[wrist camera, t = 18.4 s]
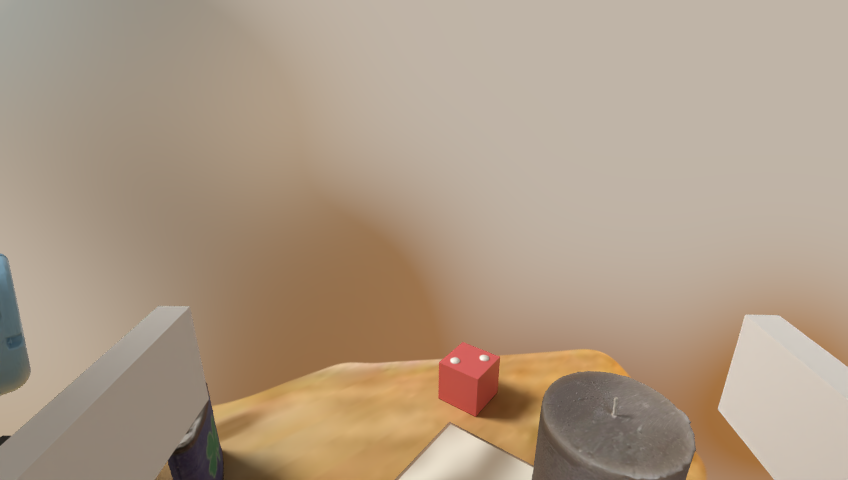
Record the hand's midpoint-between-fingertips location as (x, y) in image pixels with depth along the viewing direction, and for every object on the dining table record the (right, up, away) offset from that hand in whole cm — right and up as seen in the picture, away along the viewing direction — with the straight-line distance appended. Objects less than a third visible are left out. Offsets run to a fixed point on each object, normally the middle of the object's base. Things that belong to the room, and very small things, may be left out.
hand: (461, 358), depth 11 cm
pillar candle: (+12, -22, +25) cm, 35 cm away
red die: (+4, -15, +43) cm, 46 cm away
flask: (-21, -20, +32) cm, 43 cm away
